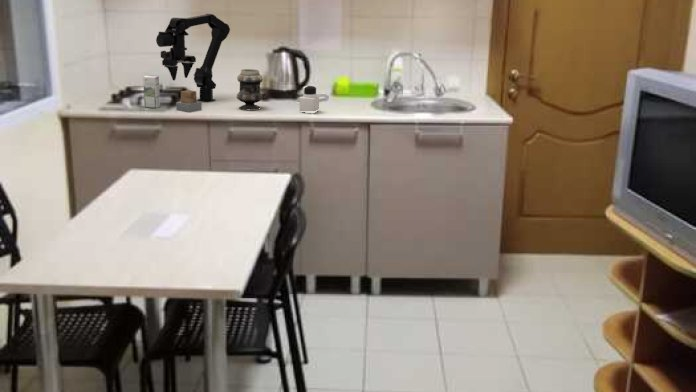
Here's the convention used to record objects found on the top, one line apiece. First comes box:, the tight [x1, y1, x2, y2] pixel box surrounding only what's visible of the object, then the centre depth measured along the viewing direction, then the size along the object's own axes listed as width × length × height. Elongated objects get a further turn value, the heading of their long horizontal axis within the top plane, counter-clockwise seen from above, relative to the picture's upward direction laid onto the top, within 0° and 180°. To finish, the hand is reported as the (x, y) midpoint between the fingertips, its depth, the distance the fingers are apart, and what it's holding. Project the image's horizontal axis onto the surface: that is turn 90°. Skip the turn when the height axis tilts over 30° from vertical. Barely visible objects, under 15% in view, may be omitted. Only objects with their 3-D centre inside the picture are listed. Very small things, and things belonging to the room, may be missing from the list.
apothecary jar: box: [236, 68, 264, 110], centre depth 347 cm, size 12×12×18 cm
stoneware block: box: [175, 100, 203, 113], centre depth 340 cm, size 8×8×4 cm
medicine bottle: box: [299, 85, 320, 111], centre depth 345 cm, size 7×7×12 cm
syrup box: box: [142, 74, 161, 109], centre depth 343 cm, size 6×6×14 cm
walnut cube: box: [180, 89, 198, 104], centre depth 339 cm, size 5×5×5 cm
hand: (180, 79), depth 350 cm, fingers open, 9 cm apart
